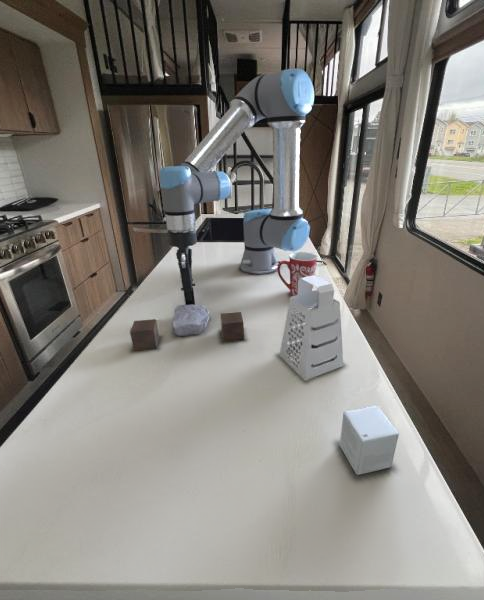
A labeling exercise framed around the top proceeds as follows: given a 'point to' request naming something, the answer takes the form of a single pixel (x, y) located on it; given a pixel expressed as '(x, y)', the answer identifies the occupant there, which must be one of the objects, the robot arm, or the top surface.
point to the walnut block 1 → (144, 334)
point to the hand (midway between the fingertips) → (190, 308)
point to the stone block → (190, 319)
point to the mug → (298, 269)
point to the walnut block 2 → (232, 326)
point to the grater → (313, 328)
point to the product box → (368, 439)
